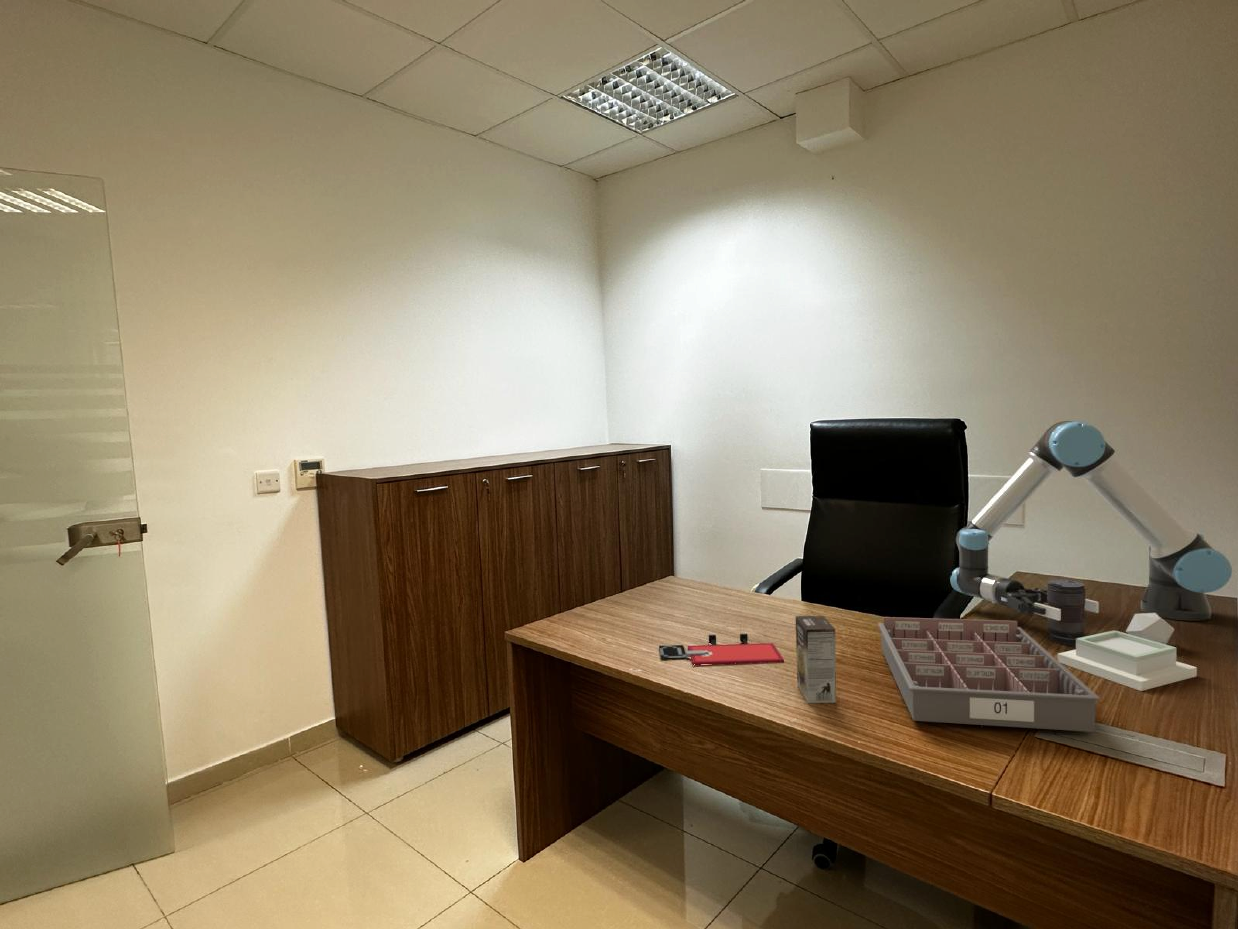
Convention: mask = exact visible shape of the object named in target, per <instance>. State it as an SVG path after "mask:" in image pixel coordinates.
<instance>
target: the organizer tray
mask: <svg viewBox="0 0 1238 929" xmlns="http://www.w3.org/2000/svg"><path fill="white" fill-rule="evenodd" d="M882 620H883V622H878V623H877V626H878V628H879V629H880V630H879V631H880V632H881V634H880V636H881V637H880V638H881V642H880V643H881V651H882V654H883V656H884V657H885V658H884V659H885V660H886V663H887V664H888V667H889V669H890V671H891V673H892V676H893V678H894V680H895V683H896V685H897V686H898V687H897V688H898V689H899V691H900V694H901V696H902V698H903V700H904V703H905V705H906V707H907V709H908V712H909V714H910V716H911V718H912V720H913V722H914V721H915V722H917V721H918V722H930V723H949V724H962V725H963V724H964V725H978V726H980V725H981V729H982V728H983V726H994V727H1010V728H1025V729H1040V730H1041V729H1042V730H1056V731H1057V730H1060V731H1073V732H1086V733H1087V732H1088V733H1089V732H1091V733H1092V732H1093V733H1095V732H1096V701H1102V699H1101V698H1100V697H1099V695H1097V694H1096V693H1095V692H1094V691H1093V690H1091V688H1090V687H1088V686H1087V685H1086V684H1085V683H1083V681H1082V680H1080V679H1079V678H1078V677H1077V676H1076V675H1075V674H1074V673H1073V672H1071V671H1070V670H1069V669H1068V668H1067V667H1065V665H1064V664H1062V663H1060V662H1059V661H1058V659H1057V658H1055V657H1054V656H1053V655H1052V654H1051V653H1050V652H1049V651H1048V650H1046V648H1044V647H1043V646H1042V645H1040V643H1039V642H1037V641H1036V640H1035V639H1034V638H1033V637H1031V636H1030V634H1028V633H1027V632H1026V631H1025V630H1023V628H1022V627H1020V626H1018V621H1017V620H1002V619H1001V620H999V619H998V620H997V619H996V620H995V619H968V618H967V619H964V618H963V619H962V618H961V619H960V618H924V617H922V618H921V617H895V616H893V617H890V616H883V619H882Z"/></svg>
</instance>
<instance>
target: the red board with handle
mask: <svg viewBox="0 0 1238 929" xmlns="http://www.w3.org/2000/svg"><path fill="white" fill-rule="evenodd" d="M748 638H749V636H748V633H739V642H740V641H741V642H743V643H744V644H741V643H736V644H735V643H733V644H717V634H708V644H702V645H701V644H700V645H697V644H696V645H687V650H685V645H684V644H674V645H673V644H672V645H670V644H669V645H668V644H667V645H658V650H659V655H660V658H661V659H670V658H671V659H672V658H673V659H674V658H675V659H677V658H686V657H691V659H690V661H692V662H691V665H692V664H693V665H694V664H695V665H701V664H729V665H740V664H739V663H752V664H763V663H762V662H775V663H784V662H785V659H784V657H783V656H782V654H781V653H780V651H779V650H778V649H777V647H776V646H775V644H774V643H773V642H772V643H771V642H768V643H767V642H765V643H763V642H762V643H749V642H747V641H748V640H749V639H748ZM709 643H711V644H712V645H709ZM705 654H708V655H705ZM782 661H783V662H782ZM760 662H761V663H760ZM735 663H736V664H735ZM693 665H692V666H693Z"/></svg>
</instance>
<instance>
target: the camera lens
mask: <svg viewBox="0 0 1238 929" xmlns="http://www.w3.org/2000/svg"><path fill="white" fill-rule="evenodd" d="M1085 588H1086V587H1085V583H1083V582H1080V581H1076V580H1069V579H1052V580H1051V579H1050V580H1049V581H1047V587H1046V590H1047V601H1048V603H1047V606H1050V607H1054V608H1057V609H1061V620H1059V621H1058V620H1055V619H1051V618H1048V617H1047V630H1048V634H1049V638H1050V640H1052V641H1053V642H1056V643H1058V644H1062V645H1070V646H1073V645H1075V646H1076V639H1077V638H1081V637H1085V630H1086V620H1085V618H1086V617H1087V612H1086V611H1087V610H1085V599H1086V589H1085Z"/></svg>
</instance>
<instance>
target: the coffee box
mask: <svg viewBox="0 0 1238 929" xmlns="http://www.w3.org/2000/svg"><path fill="white" fill-rule="evenodd" d="M795 639H796V640H795V642H796V644H795V646H796V648H795V650H796V678H797V680H796V681H797V682H796V683H797V687H798V689H799V691H800V693H801V694H802V697H803V698H804V700H805V702H806V703H807V704H830V703H831V704H834V703H837V677H836V676H837V675H836V674H837V672H836V671H837V662H836V661H837V657H836V656H837V655H836V654H837V653H836V651H837V650H836V649H837V648H836V628H835V627H834V626H833V624H831V623H830V622H829V620H827V618H826V617H825V616H824V615H796V616H795Z"/></svg>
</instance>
